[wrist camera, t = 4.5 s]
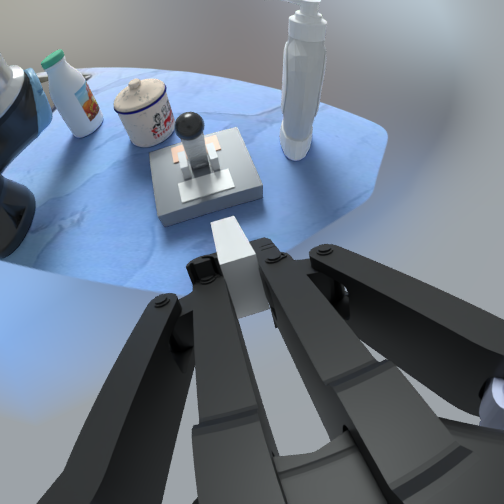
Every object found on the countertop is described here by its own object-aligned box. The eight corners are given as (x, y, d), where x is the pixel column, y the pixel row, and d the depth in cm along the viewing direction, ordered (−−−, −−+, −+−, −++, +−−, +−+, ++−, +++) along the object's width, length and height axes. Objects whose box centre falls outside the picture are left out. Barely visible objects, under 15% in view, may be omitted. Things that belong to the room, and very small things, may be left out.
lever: (212, 170, 37) (206, 127, 24) (191, 176, 37) (175, 137, 24) (207, 151, 37) (199, 103, 24) (186, 157, 37) (169, 111, 24)
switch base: (262, 197, 38) (262, 173, 33) (164, 227, 37) (151, 206, 32) (238, 140, 43) (235, 115, 38) (154, 164, 41) (144, 142, 36)
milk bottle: (86, 141, 45) (43, 67, 27) (68, 136, 47) (27, 70, 28) (110, 115, 48) (76, 41, 29) (90, 112, 49) (57, 46, 31)
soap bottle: (267, 112, 45) (267, -14, 23) (310, 116, 45) (327, -9, 22) (260, 165, 40) (257, 8, 18) (311, 170, 40) (342, 17, 17)
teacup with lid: (165, 150, 42) (144, 96, 32) (121, 148, 43) (96, 101, 33) (190, 106, 47) (178, 56, 36) (149, 106, 48) (133, 61, 37)
